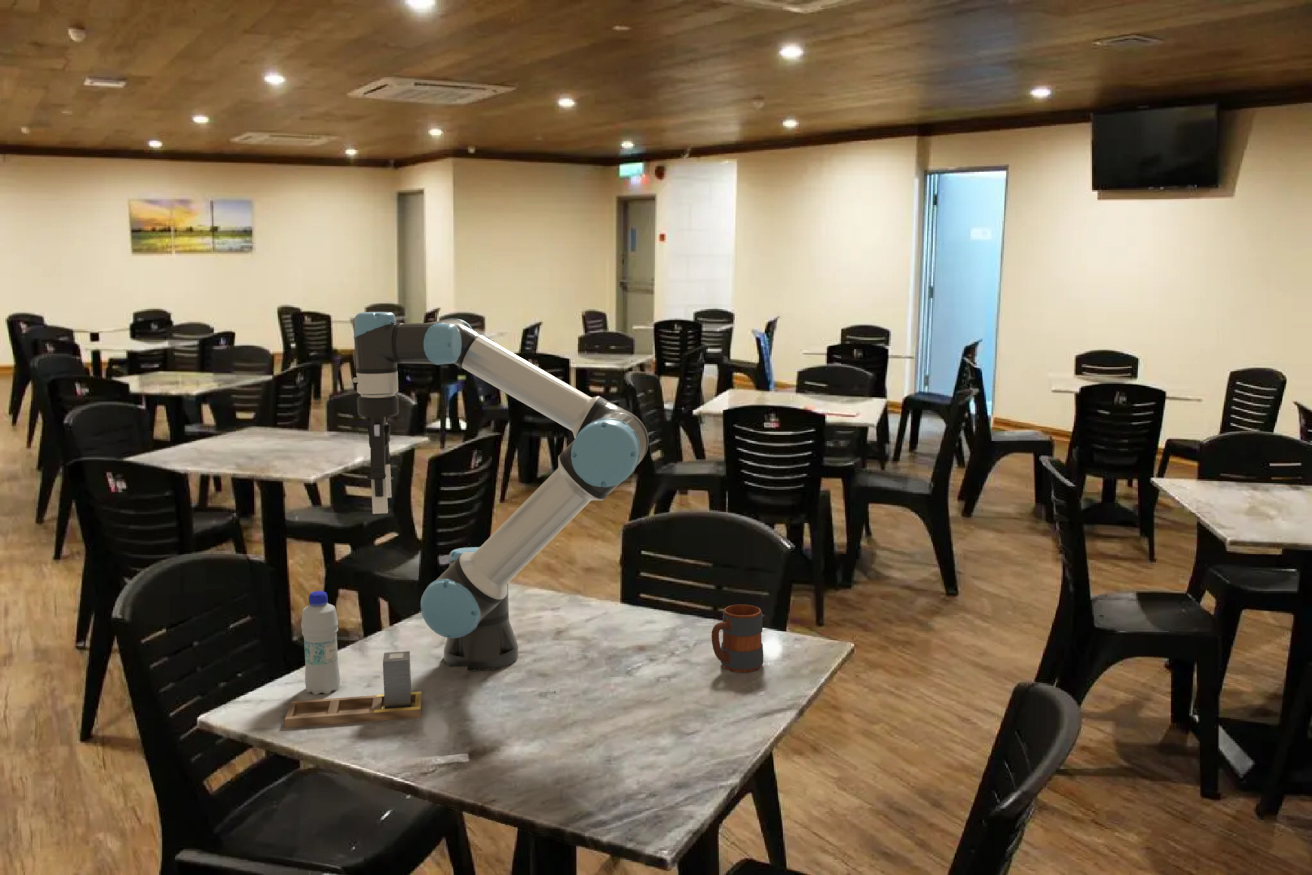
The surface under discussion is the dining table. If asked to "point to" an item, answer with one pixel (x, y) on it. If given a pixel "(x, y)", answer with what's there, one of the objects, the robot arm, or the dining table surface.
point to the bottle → (320, 645)
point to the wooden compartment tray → (348, 710)
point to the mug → (739, 638)
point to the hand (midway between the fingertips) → (382, 505)
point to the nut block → (397, 680)
